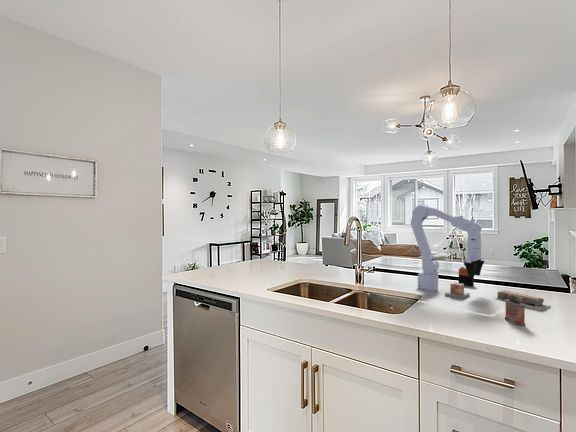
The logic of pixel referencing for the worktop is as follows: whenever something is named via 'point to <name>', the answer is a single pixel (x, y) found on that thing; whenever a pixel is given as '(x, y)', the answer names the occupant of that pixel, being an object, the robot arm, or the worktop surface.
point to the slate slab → (457, 295)
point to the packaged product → (525, 300)
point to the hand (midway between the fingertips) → (474, 276)
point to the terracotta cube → (457, 288)
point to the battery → (465, 277)
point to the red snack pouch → (515, 310)
